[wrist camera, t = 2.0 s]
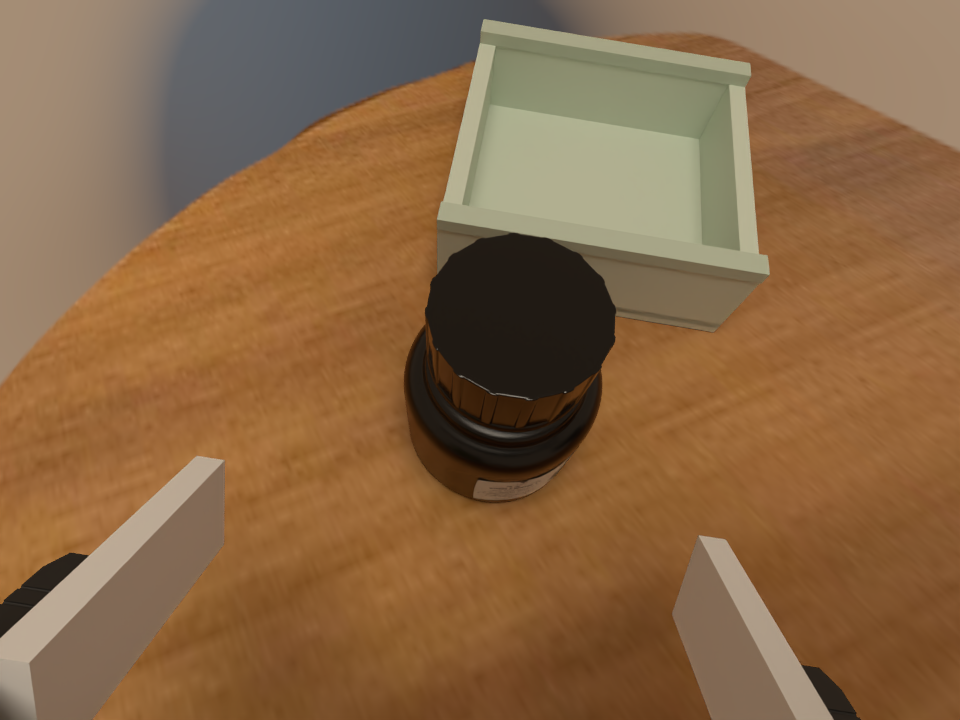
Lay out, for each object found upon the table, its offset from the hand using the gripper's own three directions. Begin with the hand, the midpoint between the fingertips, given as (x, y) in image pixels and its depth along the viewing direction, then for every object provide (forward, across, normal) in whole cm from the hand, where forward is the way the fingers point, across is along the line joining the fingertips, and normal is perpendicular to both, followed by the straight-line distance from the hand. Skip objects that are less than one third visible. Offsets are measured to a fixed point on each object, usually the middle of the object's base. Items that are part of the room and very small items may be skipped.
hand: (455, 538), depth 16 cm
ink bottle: (+15, +1, -3) cm, 15 cm away
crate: (+26, +5, +8) cm, 28 cm away
